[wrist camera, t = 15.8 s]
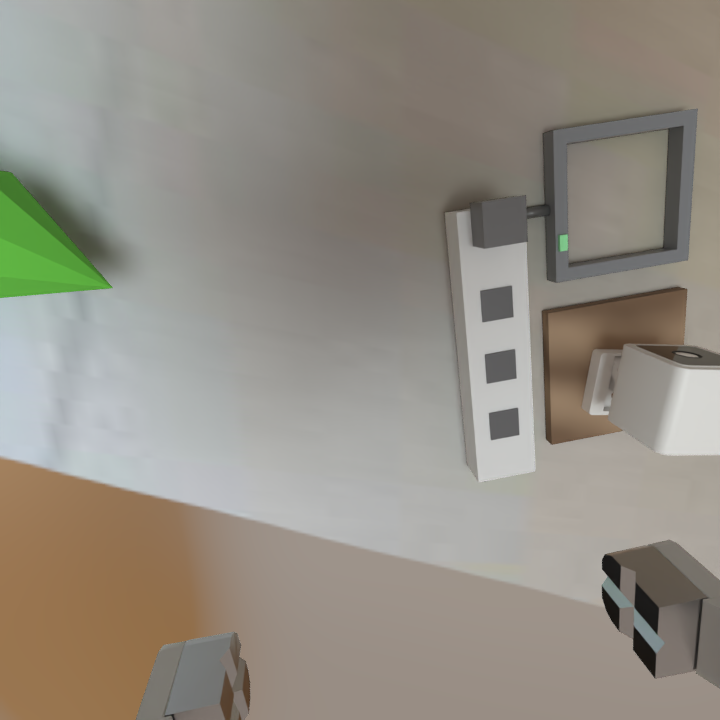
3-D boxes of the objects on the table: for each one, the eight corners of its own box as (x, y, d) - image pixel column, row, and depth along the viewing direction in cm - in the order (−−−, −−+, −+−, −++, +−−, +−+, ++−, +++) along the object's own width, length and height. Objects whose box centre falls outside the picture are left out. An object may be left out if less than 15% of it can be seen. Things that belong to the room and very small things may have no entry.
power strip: (443, 205, 36) (467, 204, 31) (552, 188, 37) (592, 184, 32) (467, 464, 43) (489, 498, 38) (558, 447, 44) (591, 478, 39)
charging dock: (543, 133, 36) (555, 129, 34) (682, 112, 36) (700, 107, 35) (547, 280, 39) (558, 283, 37) (674, 258, 40) (691, 260, 38)
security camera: (661, 332, 40) (771, 369, 31) (643, 409, 42) (740, 466, 33) (591, 331, 40) (682, 368, 30) (576, 409, 42) (656, 467, 32)
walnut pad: (542, 310, 40) (548, 313, 39) (678, 287, 41) (687, 288, 40) (546, 439, 43) (551, 444, 42) (670, 415, 44) (678, 419, 43)
